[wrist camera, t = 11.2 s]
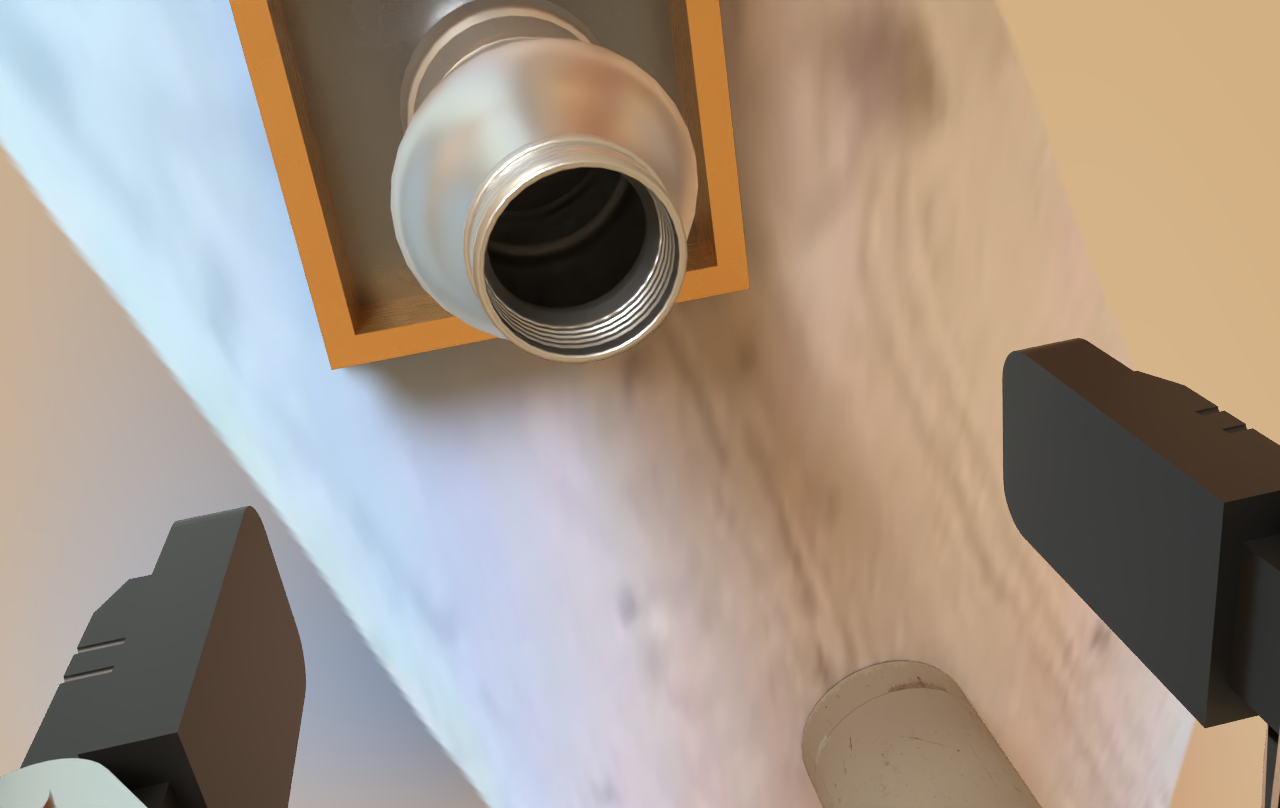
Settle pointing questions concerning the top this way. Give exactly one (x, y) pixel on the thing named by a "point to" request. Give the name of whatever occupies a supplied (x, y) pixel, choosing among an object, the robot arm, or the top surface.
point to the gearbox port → (372, 131)
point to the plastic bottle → (541, 182)
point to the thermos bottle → (906, 745)
